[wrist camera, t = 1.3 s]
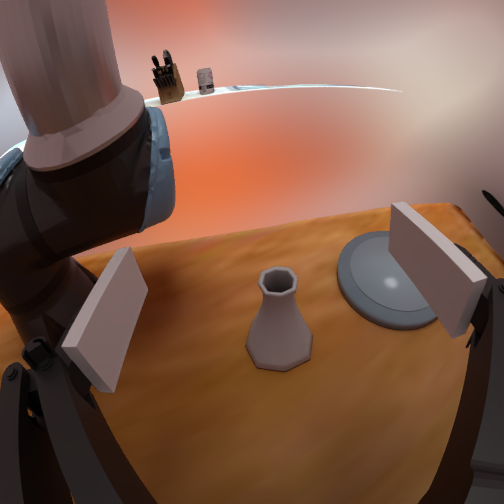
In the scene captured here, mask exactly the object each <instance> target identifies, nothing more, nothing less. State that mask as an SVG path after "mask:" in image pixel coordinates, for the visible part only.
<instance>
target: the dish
mask: <svg viewBox="0 0 504 504" xmlns="http://www.w3.org/2000/svg"><path fill="white" fill-rule="evenodd" d="M389 235H390V231H376V232H369V233H365V234H362V235H360V236H358V237H356V238H354V239H353V240H351V241H350V242H349V243H348V244H347V245H346V246H345V247H344V249H343V250H342V252H341V254H340V257H339V262H338V268H337V281H338V285H339V288H340V290H341V293H342V295H343V296H344V298H345V299H346V301H347V302H348V303H349V305H350V306H351V307H352V308H353V309H354V310H355V311H356V312H358V313H359V314H360V315H361V316H363V317H364V318H366V319H367V320H369V321H371V322H373V323H375V324H377V325H380V326H383V327H386V328H390V329H396V330H412V329H418V328H421V327H424V326H426V325H428V324H430V323H432V322H433V321H434V320H436V319H437V318H438V317H437V316H436V314H435V313H434V311H433V310H432V309H431V307H430V306H429V304H428V303H427V301H426V300H425V299H424V297H423V296H422V294H421V293H420V292H419V290H418V289H417V288H416V286H415V285H414V283H413V282H412V281H411V279H410V278H409V277H408V275H407V274H406V273H405V272H404V270H403V269H402V268H401V266H400V265H399V264H398V263H397V261H396V260H395V259H394V257H393V256H392V255H391V254H390V252H389V251H388V246H389Z"/></svg>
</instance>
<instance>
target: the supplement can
mask: <svg viewBox="0 0 504 504" xmlns="http://www.w3.org/2000/svg"><path fill="white" fill-rule="evenodd" d="M197 78H198V84H199V91H200V94H201V95H205V94H211V93H213V92H214V85H213V77H212V70H211V69H210V68H204V69H199V70H198V71H197Z"/></svg>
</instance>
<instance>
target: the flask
mask: <svg viewBox="0 0 504 504" xmlns="http://www.w3.org/2000/svg"><path fill="white" fill-rule="evenodd" d="M297 282H298V277H297V276H296V274H295V273H294V272H293V271H292V269H291V268H289V267H278V266H274V267H272V268H269V269H267V270H264V271H261V275H260V278H259V282H258V285H259V287H260V289H261V290H262V292H263V302H262V305H261V307H260V309H259V311H258V313H257V315H256V316H255V318H254V320H253V322H252V324H251V327H250V331H249V334H248V338H247V342H246V345H245V346H246V348H247V350H248V352H249V354H250V356H251V358H252V359H253V361H254V363H255V365H256V367H257V368H264V369H270V370H278V371H287V370H289V369H291V368H293V367H295V366H297V365H299V364H301V363H303V362H305V361H307V360H309V359H310V356H311V348H312V340H313V335H312V333H311V331H310V329H309V328H308V326H307V324H306V323H305V321H304V319H303V317H302V315H301V313H300V311H299V309H298V307H297V305H296V300H295V296H294V294H295V293H296V289H297Z"/></svg>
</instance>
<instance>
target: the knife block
mask: <svg viewBox="0 0 504 504" xmlns="http://www.w3.org/2000/svg"><path fill="white" fill-rule="evenodd" d="M163 53H164V54H163V58H164V61H165V66H161V67H160V66H159V62H158V60H157V58H156V57H155V56H152V61H153V63H154V65H155V66H156V69H155V68H153V69H152V71H153V74H154V76H155V79H153V81H154V82H155V84H156V86H157V88H158V92H159V97H160V101H161V104H163V105H164V104H166V103H170V102H174V101H180V100H181V98H182V96H183V95H184V87H183V85H182V82H181V78H180V75H179V73H178V69H177V66H176V64H175V63H174V64H173V62H172V58H171V55H170V53H169V52H168V51H167V50H164V51H163Z"/></svg>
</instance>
